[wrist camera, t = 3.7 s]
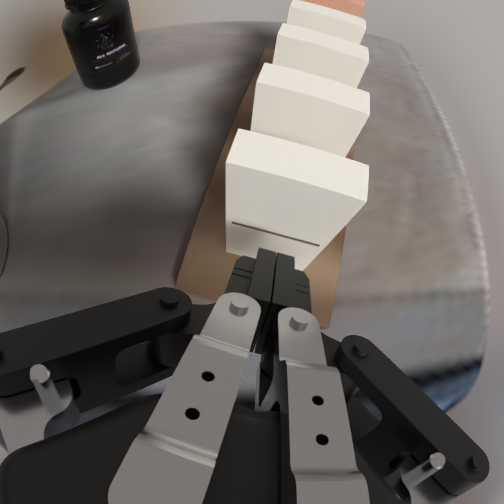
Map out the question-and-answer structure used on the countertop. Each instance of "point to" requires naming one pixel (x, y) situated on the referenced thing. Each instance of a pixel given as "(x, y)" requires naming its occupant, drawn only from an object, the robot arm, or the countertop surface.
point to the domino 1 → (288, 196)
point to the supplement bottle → (101, 41)
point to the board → (214, 233)
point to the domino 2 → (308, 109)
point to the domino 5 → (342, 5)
